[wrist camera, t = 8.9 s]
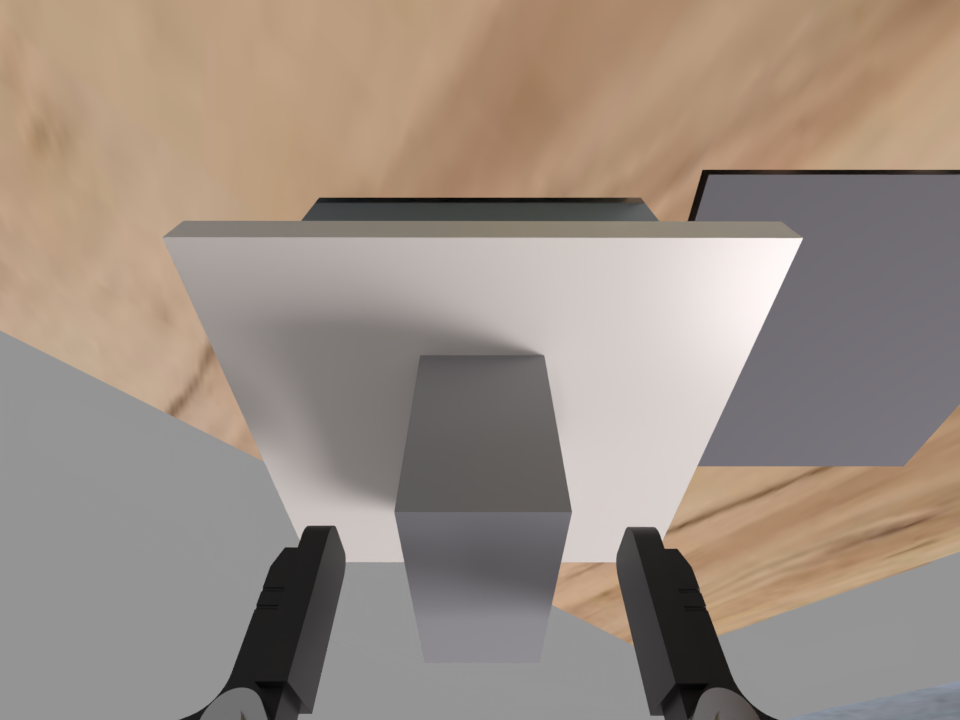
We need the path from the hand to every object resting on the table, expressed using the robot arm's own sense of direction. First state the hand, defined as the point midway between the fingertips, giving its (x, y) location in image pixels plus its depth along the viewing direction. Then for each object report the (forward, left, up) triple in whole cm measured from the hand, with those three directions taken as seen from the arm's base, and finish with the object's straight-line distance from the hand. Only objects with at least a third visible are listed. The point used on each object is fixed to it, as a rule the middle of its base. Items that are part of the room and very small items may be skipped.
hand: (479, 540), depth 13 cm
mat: (-16, +1, -10) cm, 19 cm away
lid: (0, 0, -4) cm, 4 cm away
